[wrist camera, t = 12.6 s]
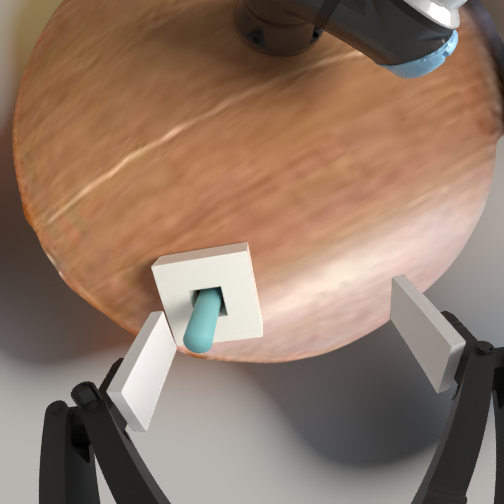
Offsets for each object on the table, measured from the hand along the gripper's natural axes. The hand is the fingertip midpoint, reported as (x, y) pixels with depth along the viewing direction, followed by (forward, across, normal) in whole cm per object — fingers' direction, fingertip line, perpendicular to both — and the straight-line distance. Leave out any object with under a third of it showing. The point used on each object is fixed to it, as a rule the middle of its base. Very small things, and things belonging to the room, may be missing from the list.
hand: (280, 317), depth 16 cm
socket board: (+34, -12, -14) cm, 39 cm away
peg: (+34, -12, -14) cm, 39 cm away
